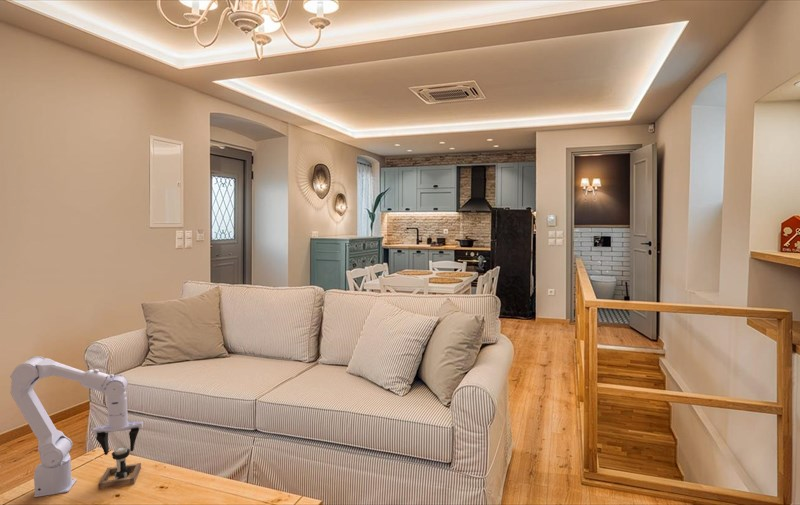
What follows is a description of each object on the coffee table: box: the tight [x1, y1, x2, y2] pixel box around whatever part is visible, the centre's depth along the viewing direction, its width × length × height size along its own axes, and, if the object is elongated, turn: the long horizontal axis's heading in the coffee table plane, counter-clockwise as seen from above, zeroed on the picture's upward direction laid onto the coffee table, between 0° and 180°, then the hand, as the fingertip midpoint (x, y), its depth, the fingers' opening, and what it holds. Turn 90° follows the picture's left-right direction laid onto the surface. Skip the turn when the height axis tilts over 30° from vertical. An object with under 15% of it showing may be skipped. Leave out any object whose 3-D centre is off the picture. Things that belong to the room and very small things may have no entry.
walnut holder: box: [97, 462, 142, 491], centre depth 161 cm, size 10×11×2 cm
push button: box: [111, 446, 131, 480], centre depth 160 cm, size 7×5×10 cm
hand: (119, 451), depth 160 cm, fingers open, 7 cm apart
